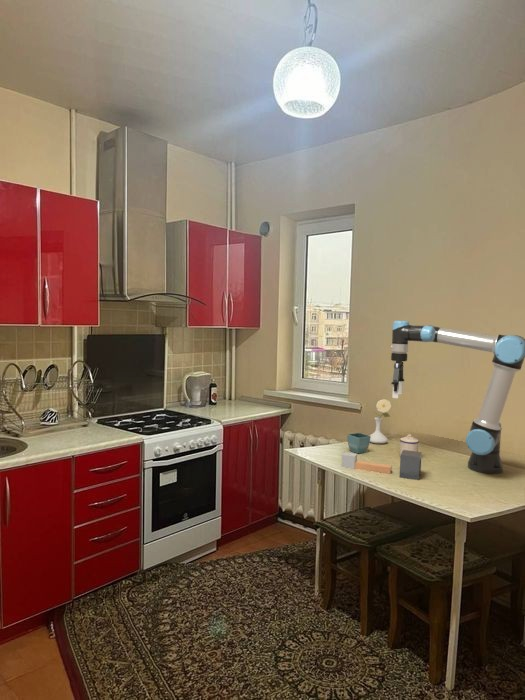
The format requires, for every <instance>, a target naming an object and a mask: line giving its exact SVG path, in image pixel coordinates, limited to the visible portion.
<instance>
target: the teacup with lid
mask: <svg viewBox="0 0 525 700" xmlns="http://www.w3.org/2000/svg"><path fill="white" fill-rule="evenodd" d="M399 441H400V443H399V457H400V456H401V453H402V451H403V450H408V451H416V452H419V442H420V440H419V439H417V438H415V437H414V436H412V434H410V433H409V434H407V435H406V436H403V437H400V439H399Z"/></svg>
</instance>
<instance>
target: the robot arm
mask: <svg viewBox="0 0 525 700" xmlns="http://www.w3.org/2000/svg"><path fill="white" fill-rule="evenodd" d="M391 334H392V335H391V338H392V339H391V345H390V348H391V353H390V354H391V355H390V360H391V361H393V362H395V363H394V364H393V375H392V376H393V377H392V381H391V383H390V385H392V396H391V397H392V399H399V395H403V386H404V385H403V383H404V382H405V379H404V362H407V361H408V352H409V341H410V342H422V343H423V342H424V343H439V344H443V345H449V346H455V347H461V348H465V349H466V348H467V349H472V350H477V351H481V352H482V351H484V352H489V353H492V354H493V357H492V360H491V363H492V365H493V370H492V373H491V376H490V378H489V382H488V386H487V388H486V392H485V394H484V398H483V400H482V404H481V406H480V411H479V414H478V416H477V417H476V418H474V419H473V420H472V423H471V425H470V429H469V432H468V433H467V434H466V436H465V444H466V447H467V448H468V449H469V450H470V452H471V454H470V456H469V459H468V460H467V461H468V462H467V468H468V469H469V470H472V471H475V472H479V473H482V474H483V473H484V474H494V475H495V474H501V473H503V469H504V466H503V463H502V458H501V455H500V454H501V453H500V452H501V451H500V450H501V437H502V436H501V435H502V423H501V422H500V420H501V417H502V414H503V412H504V409H505V405H506V401H507V399H508V396H509V393H510V389H511V387H512V384H513V382H514V378H515V375H516V373H517V372H519V371H521V369H522V367H523V363H524V360H525V338H524V337H523V336H521V335H516V334H509V335H507V334H505V335H504V334H497V335H490V334H483V333H478V332H471V331H465V330H460V329H459V330H457V329H452V328H446V327H438V326H435V325H412V324H410V321H408V320H394V321H393V323H392V331H391Z"/></svg>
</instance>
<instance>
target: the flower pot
mask: <svg viewBox="0 0 525 700" xmlns="http://www.w3.org/2000/svg"><path fill="white" fill-rule="evenodd" d="M346 435H347V438H346V439H347V445H348V448H349V450H350V451H351V452H352V451H353V452H352V453H354V454H357V453H359V454H364V453H366V451H367V450H368V448H369V446H370V443H371V442H370V438H371V436H370V435H368V434H364V433H360V432H354V433H348V434H346ZM363 452H364V453H363Z"/></svg>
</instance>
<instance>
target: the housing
mask: <svg viewBox="0 0 525 700" xmlns="http://www.w3.org/2000/svg"><path fill="white" fill-rule="evenodd" d="M422 454H423V453H422V451H418V452H416V451H408V450H403V451H402V453H401V456H400V455H399V457H400V458H399V461H400V462H399V478H401V479H408V480H415V481H419V480H420V475H421V473H422V472H421V469H422Z"/></svg>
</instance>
